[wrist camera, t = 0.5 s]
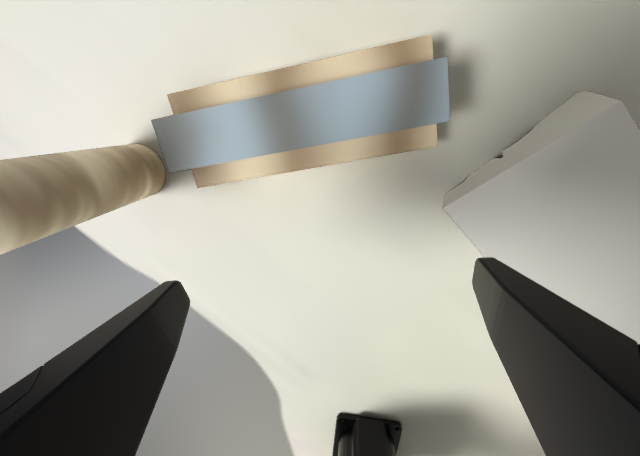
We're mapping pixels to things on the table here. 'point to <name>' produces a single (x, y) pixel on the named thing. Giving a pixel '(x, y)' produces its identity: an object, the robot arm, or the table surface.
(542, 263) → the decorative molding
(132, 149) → the maple post
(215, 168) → the ridge rail
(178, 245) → the table surface
